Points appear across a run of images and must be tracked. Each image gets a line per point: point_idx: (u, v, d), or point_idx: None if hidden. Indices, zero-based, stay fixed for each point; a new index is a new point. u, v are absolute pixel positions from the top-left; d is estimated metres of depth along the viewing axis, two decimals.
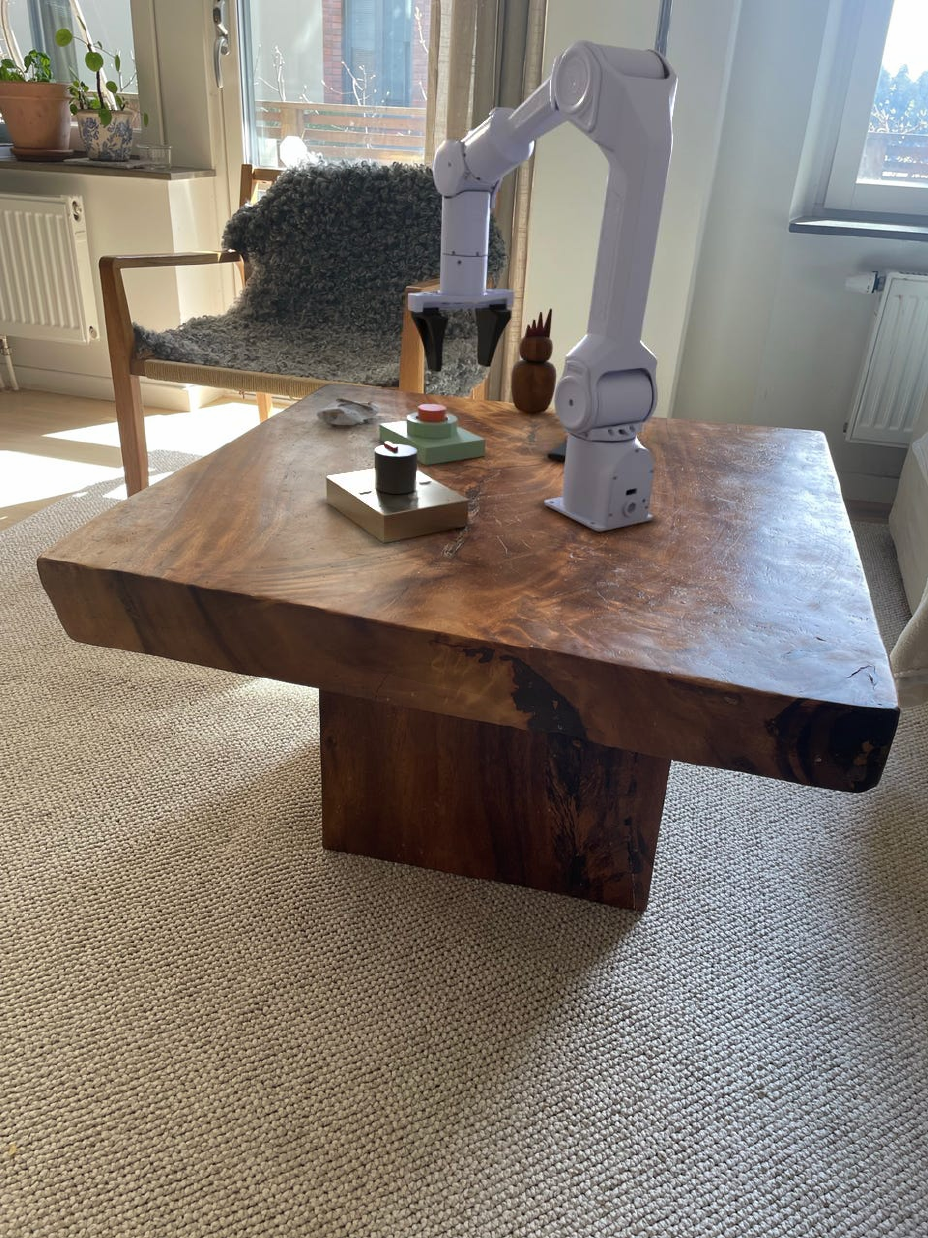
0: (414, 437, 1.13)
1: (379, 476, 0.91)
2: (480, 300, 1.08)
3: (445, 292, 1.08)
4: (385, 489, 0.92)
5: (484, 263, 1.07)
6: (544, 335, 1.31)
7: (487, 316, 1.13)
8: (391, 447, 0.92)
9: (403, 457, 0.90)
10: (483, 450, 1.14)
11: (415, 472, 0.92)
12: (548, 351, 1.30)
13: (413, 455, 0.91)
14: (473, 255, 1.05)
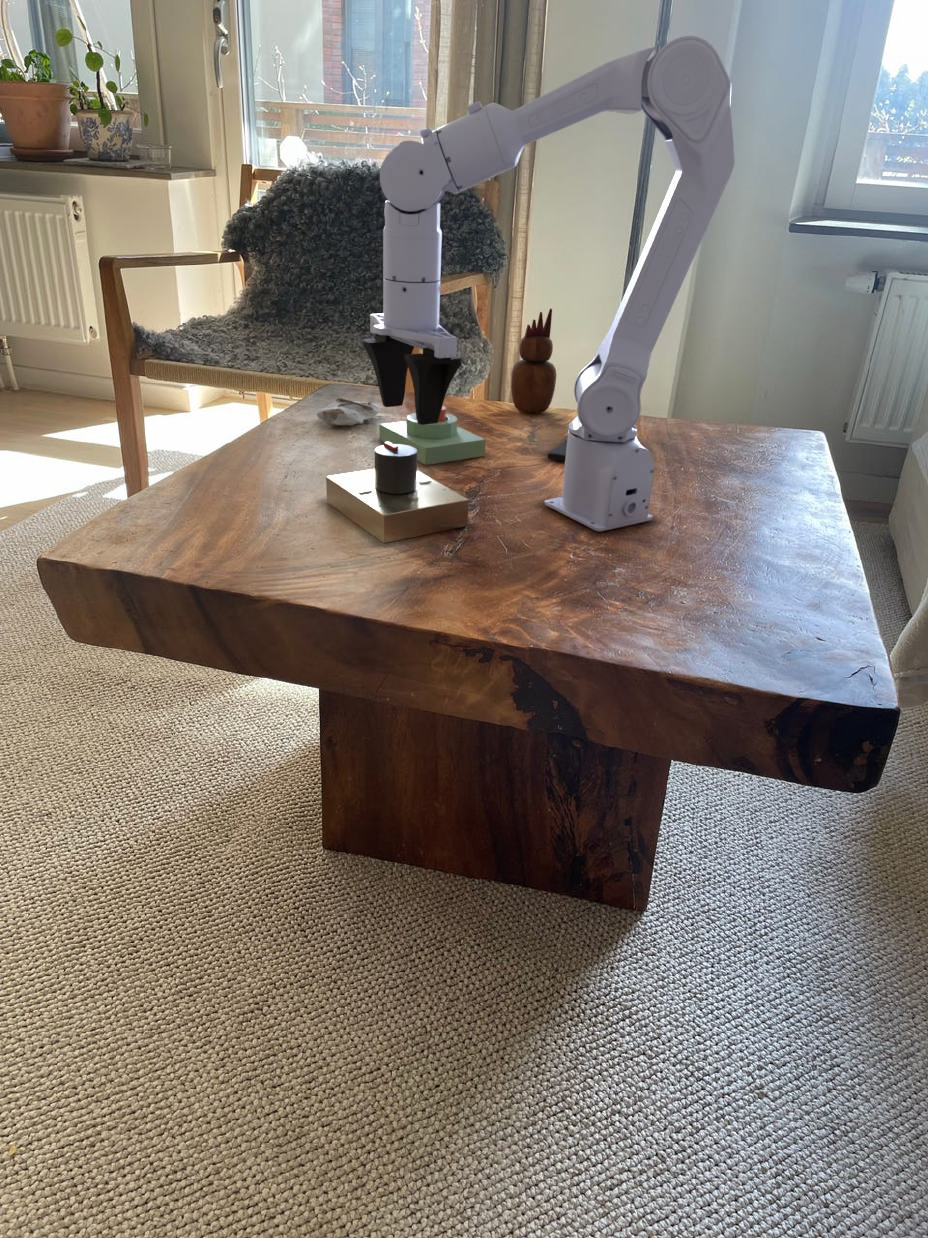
0: (414, 437, 1.13)
1: (379, 476, 0.91)
2: None
3: (428, 328, 0.89)
4: (385, 489, 0.92)
5: None
6: (544, 335, 1.31)
7: (396, 348, 0.95)
8: (391, 447, 0.92)
9: (403, 457, 0.90)
10: (483, 450, 1.14)
11: (415, 472, 0.92)
12: (548, 351, 1.30)
13: (413, 455, 0.91)
14: None
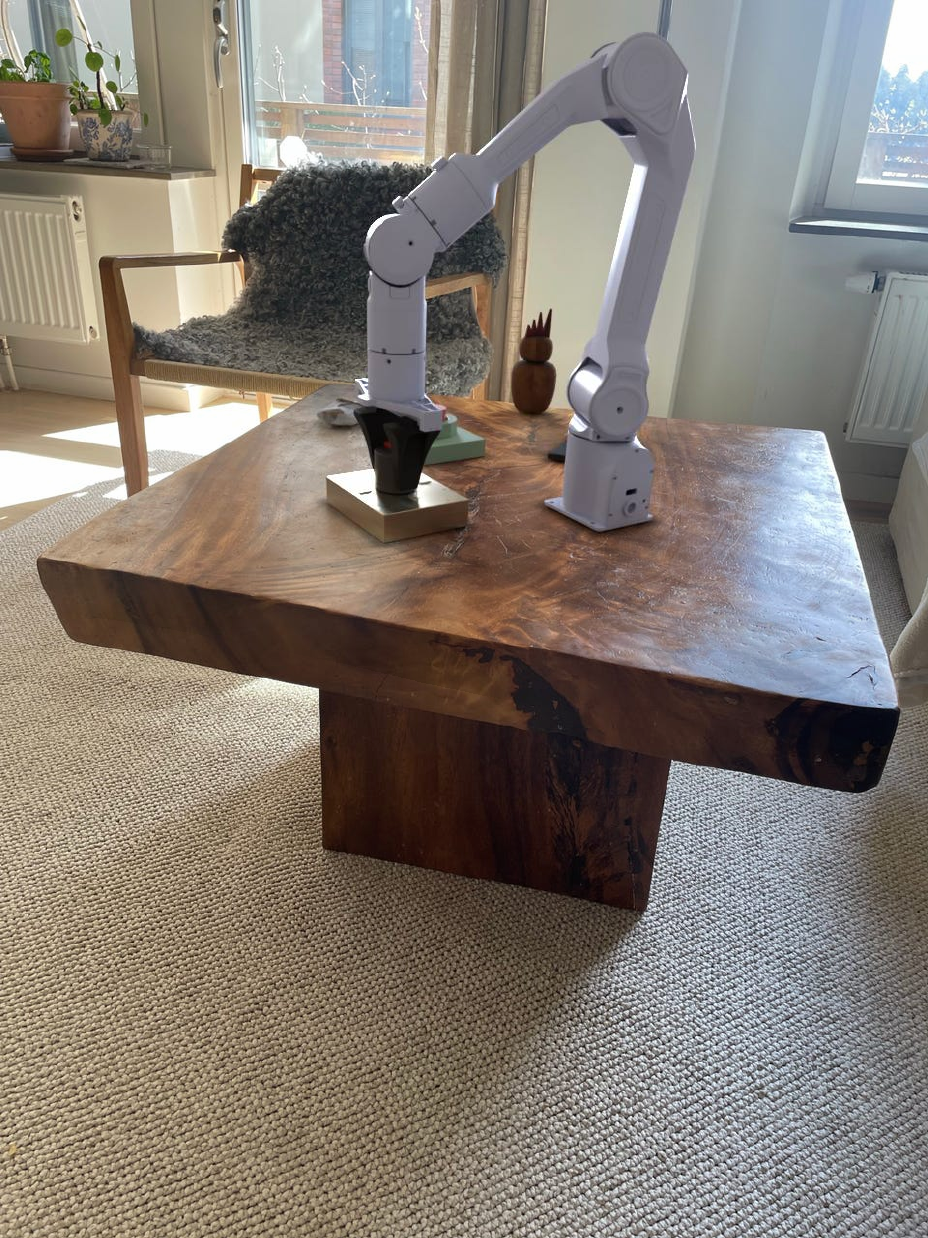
0: None
1: (379, 476, 0.91)
2: None
3: (414, 398, 0.87)
4: (385, 489, 0.92)
5: None
6: (544, 335, 1.31)
7: (387, 417, 0.92)
8: None
9: None
10: (483, 450, 1.14)
11: None
12: (548, 351, 1.30)
13: None
14: None
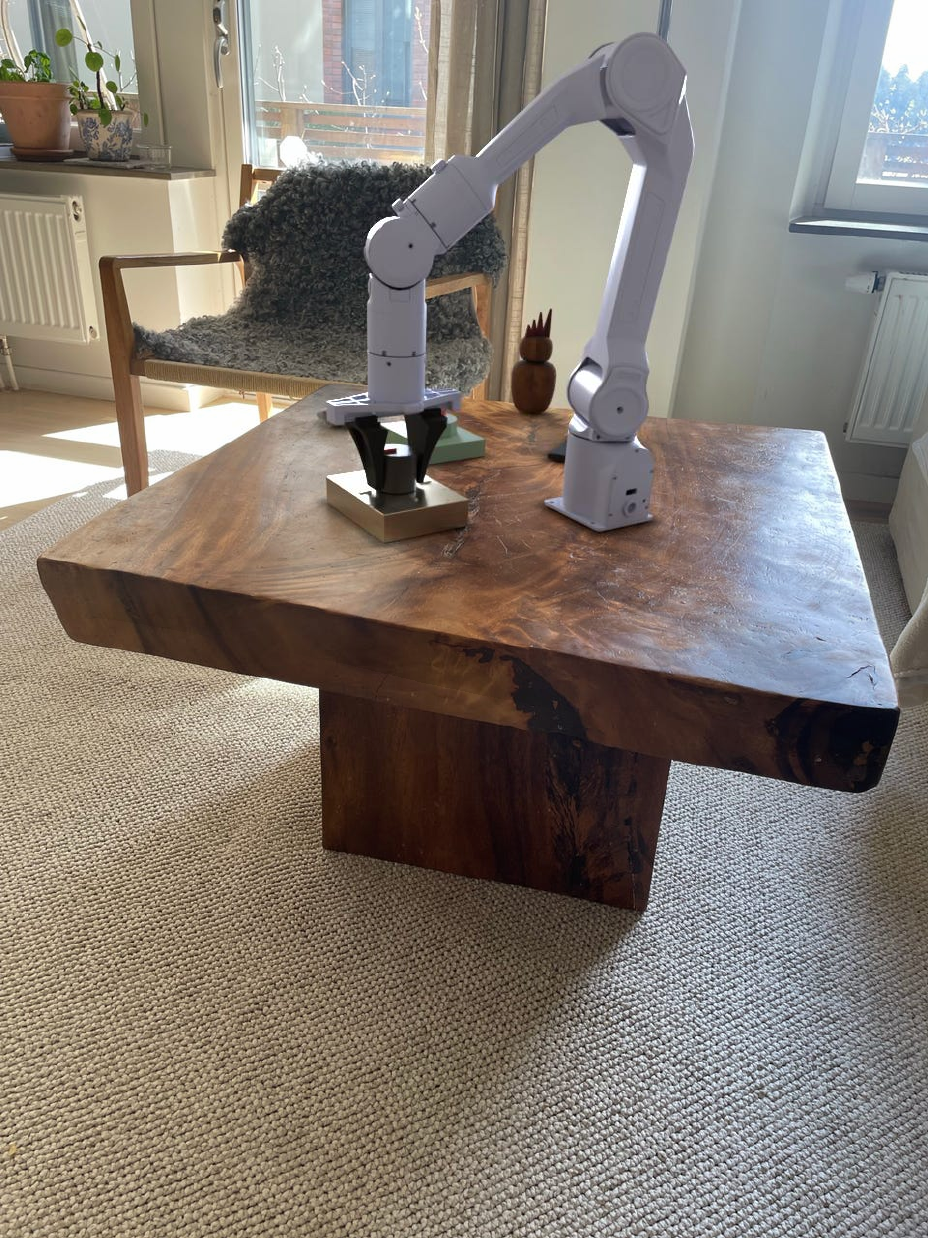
0: None
1: (409, 478, 0.91)
2: None
3: None
4: (413, 487, 0.93)
5: None
6: (544, 335, 1.31)
7: None
8: (393, 449, 0.91)
9: (415, 449, 0.93)
10: (483, 450, 1.14)
11: None
12: (548, 351, 1.30)
13: (407, 446, 0.93)
14: None
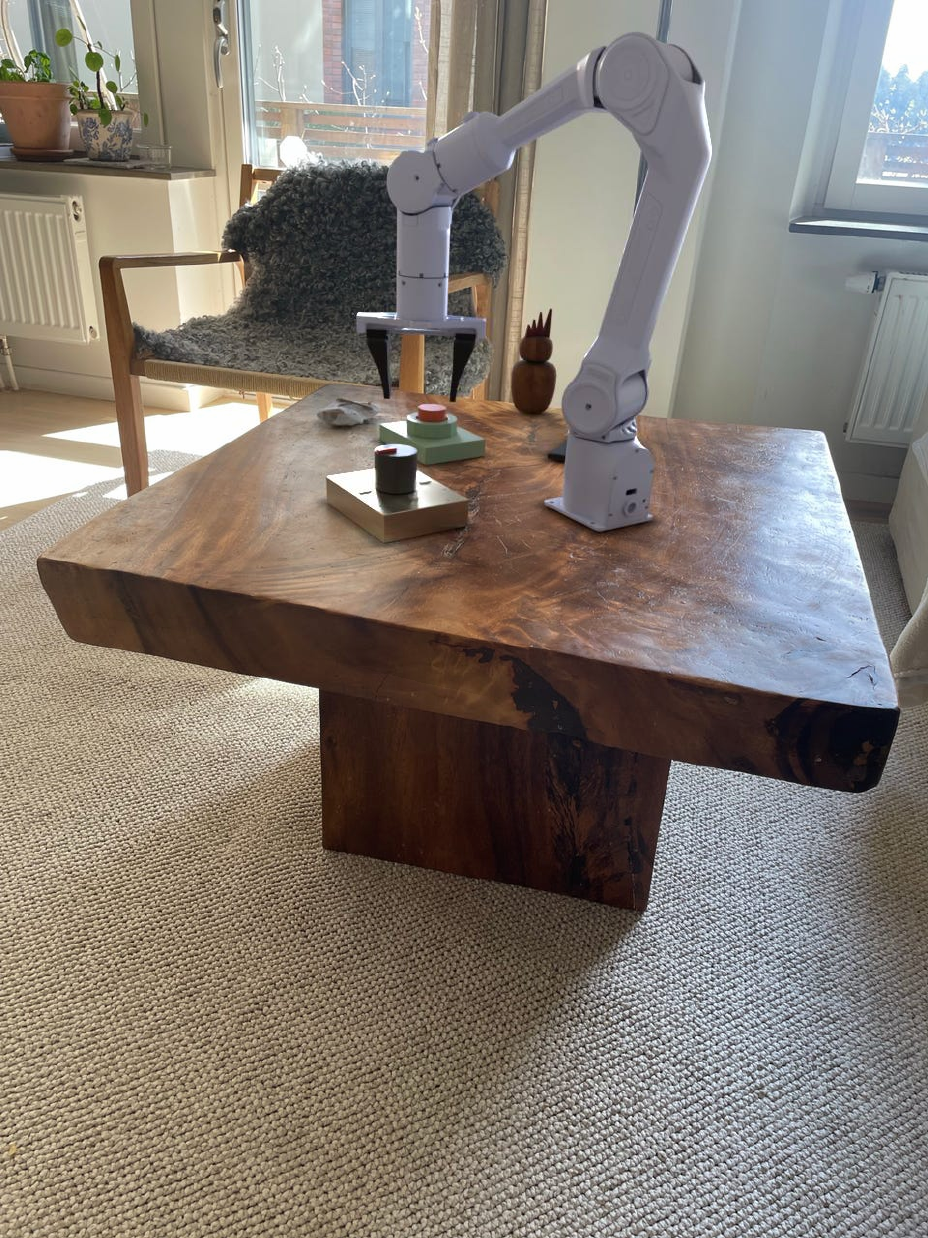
0: (414, 437, 1.13)
1: (408, 478, 0.91)
2: None
3: (446, 316, 1.00)
4: (413, 487, 0.93)
5: None
6: (544, 335, 1.31)
7: None
8: (393, 449, 0.91)
9: (415, 449, 0.93)
10: (483, 450, 1.14)
11: None
12: (548, 351, 1.30)
13: (407, 447, 0.93)
14: None
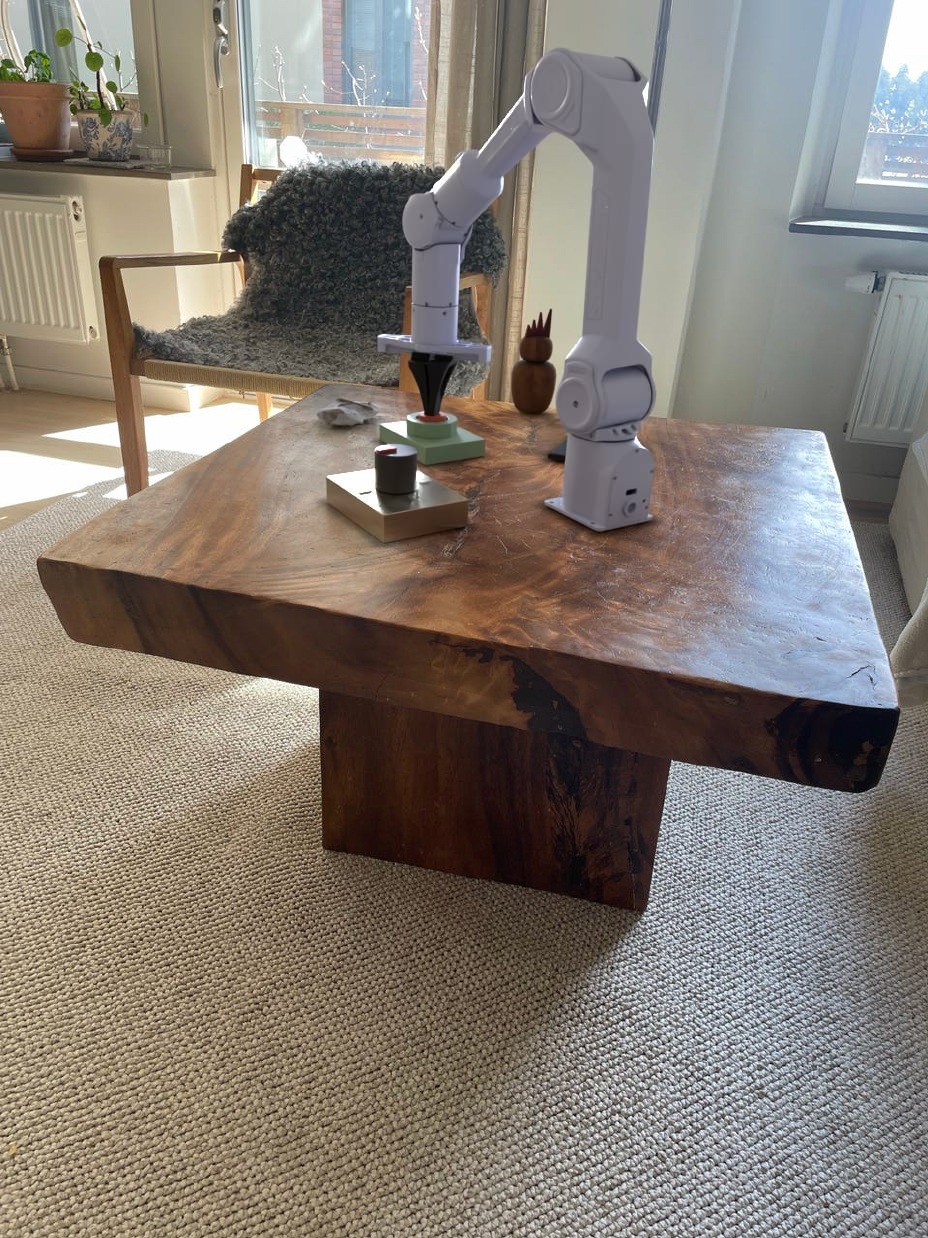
0: (414, 437, 1.13)
1: (408, 478, 0.91)
2: None
3: (456, 341, 1.10)
4: (413, 487, 0.93)
5: None
6: (544, 335, 1.31)
7: None
8: (393, 449, 0.91)
9: (415, 449, 0.93)
10: (483, 450, 1.14)
11: None
12: (548, 351, 1.30)
13: (407, 447, 0.93)
14: None
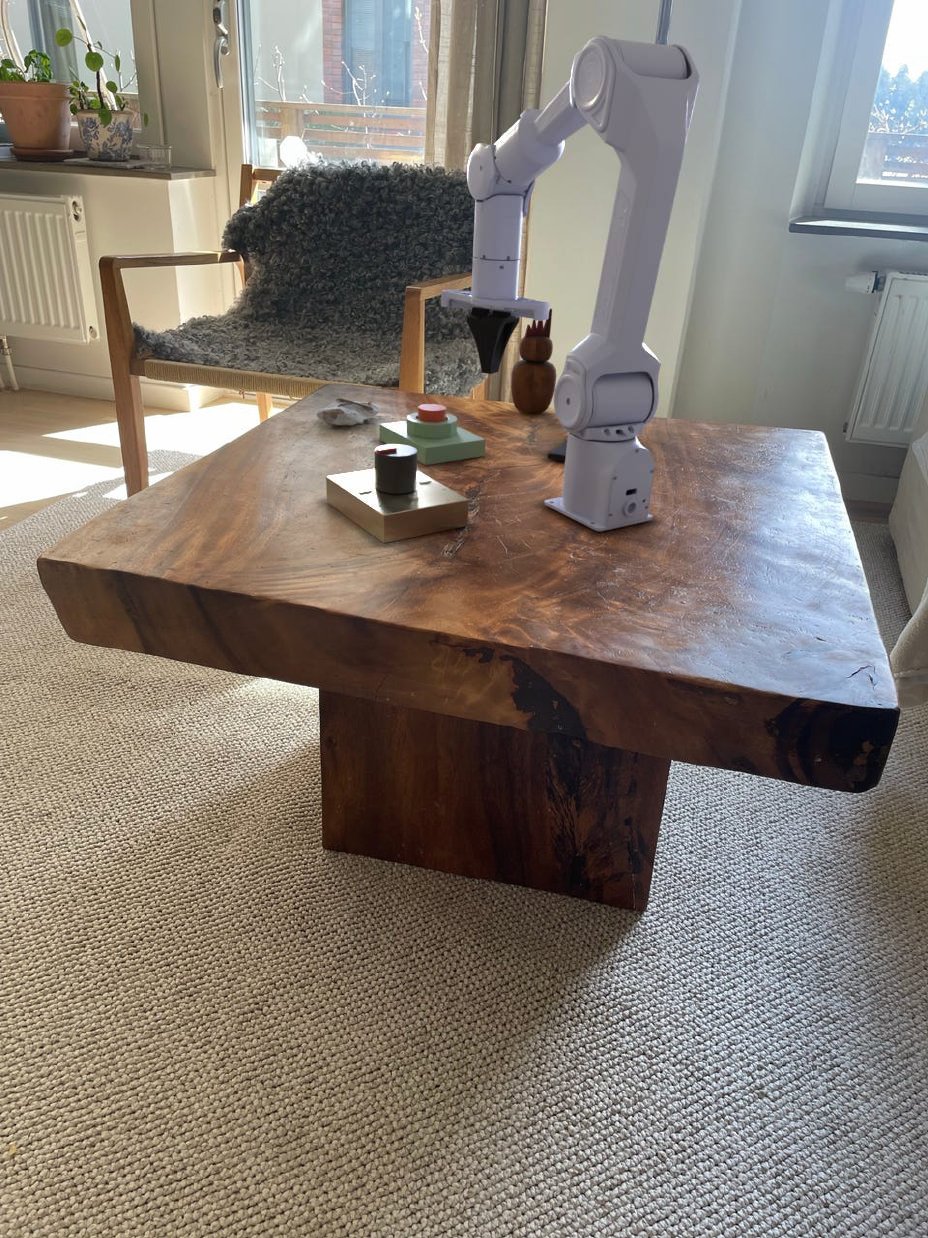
0: (414, 437, 1.13)
1: (408, 478, 0.91)
2: None
3: (515, 297, 1.08)
4: (413, 487, 0.93)
5: None
6: (544, 335, 1.31)
7: None
8: (393, 449, 0.91)
9: (415, 449, 0.93)
10: (483, 450, 1.14)
11: None
12: (548, 351, 1.30)
13: (407, 447, 0.93)
14: None
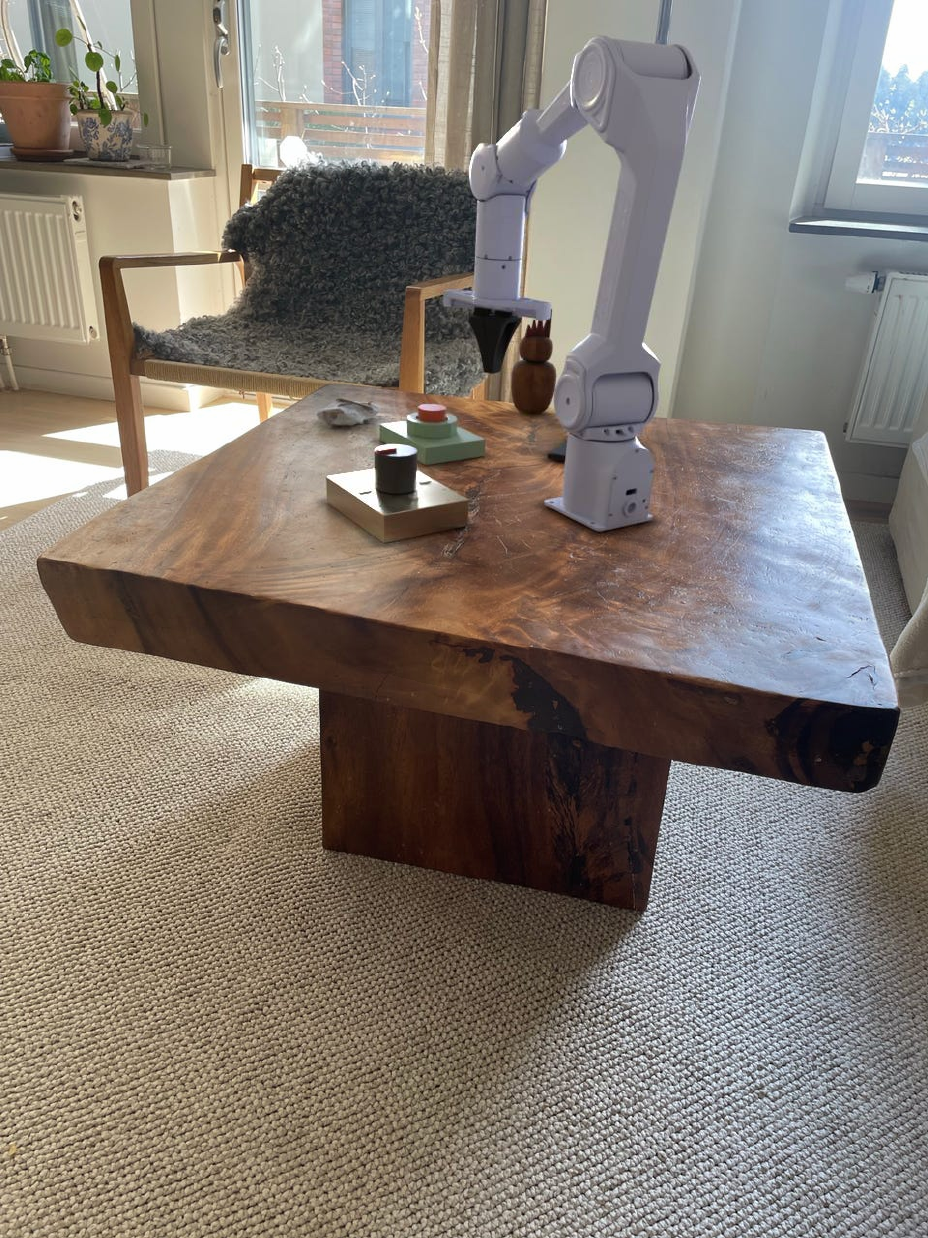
0: (414, 437, 1.13)
1: (408, 478, 0.91)
2: None
3: (517, 297, 1.08)
4: (413, 487, 0.93)
5: None
6: (544, 335, 1.31)
7: None
8: (393, 449, 0.91)
9: (415, 449, 0.93)
10: (483, 450, 1.14)
11: None
12: (548, 351, 1.30)
13: (407, 447, 0.93)
14: None
